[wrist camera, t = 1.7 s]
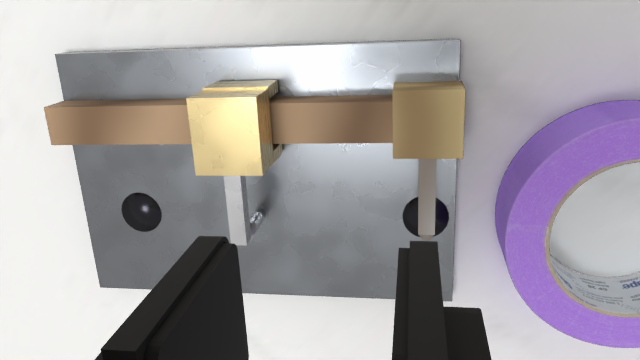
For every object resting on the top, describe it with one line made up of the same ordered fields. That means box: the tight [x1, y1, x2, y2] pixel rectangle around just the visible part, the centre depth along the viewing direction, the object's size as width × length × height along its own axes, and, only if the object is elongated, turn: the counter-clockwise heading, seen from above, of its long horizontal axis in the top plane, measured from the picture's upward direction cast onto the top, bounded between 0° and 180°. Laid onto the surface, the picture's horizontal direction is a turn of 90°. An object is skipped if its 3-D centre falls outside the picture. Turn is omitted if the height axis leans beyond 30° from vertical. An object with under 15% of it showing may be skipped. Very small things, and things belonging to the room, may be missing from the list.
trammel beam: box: [44, 81, 465, 240], centre depth 29 cm, size 21×7×2 cm, turn 93°
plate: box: [55, 39, 460, 301], centre depth 31 cm, size 21×14×1 cm, turn 93°
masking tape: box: [495, 100, 640, 348], centre depth 27 cm, size 12×12×4 cm
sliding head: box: [186, 80, 283, 247], centre depth 28 cm, size 3×8×4 cm, turn 3°
